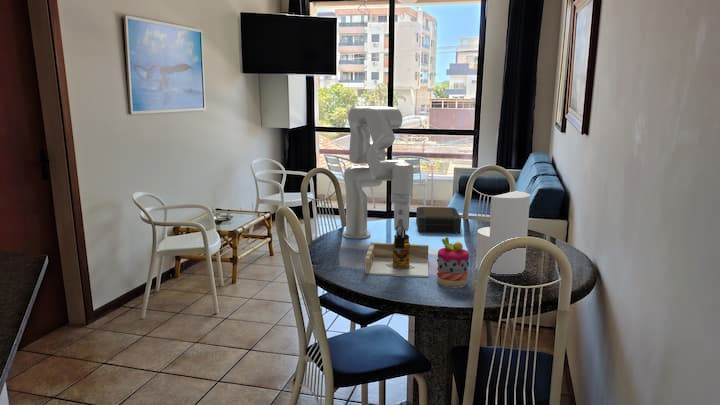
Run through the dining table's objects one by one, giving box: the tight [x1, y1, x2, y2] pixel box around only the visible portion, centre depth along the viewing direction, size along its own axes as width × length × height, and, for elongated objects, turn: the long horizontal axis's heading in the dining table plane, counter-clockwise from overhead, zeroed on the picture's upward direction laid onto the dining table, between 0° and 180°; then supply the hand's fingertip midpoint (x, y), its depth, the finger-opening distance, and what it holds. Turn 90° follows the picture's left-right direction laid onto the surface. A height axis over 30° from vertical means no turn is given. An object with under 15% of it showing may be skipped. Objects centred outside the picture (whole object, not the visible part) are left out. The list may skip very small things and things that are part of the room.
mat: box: [368, 257, 429, 278], centre depth 189 cm, size 20×22×1 cm
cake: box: [436, 237, 470, 288], centre depth 171 cm, size 10×11×15 cm
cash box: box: [415, 206, 462, 235], centre depth 249 cm, size 25×20×8 cm
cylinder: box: [475, 190, 531, 274], centre depth 184 cm, size 17×17×28 cm
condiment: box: [385, 233, 413, 271], centre depth 186 cm, size 7×8×12 cm
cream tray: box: [364, 242, 429, 275], centre depth 188 cm, size 20×22×6 cm
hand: (400, 244), depth 186 cm, fingers open, 9 cm apart
